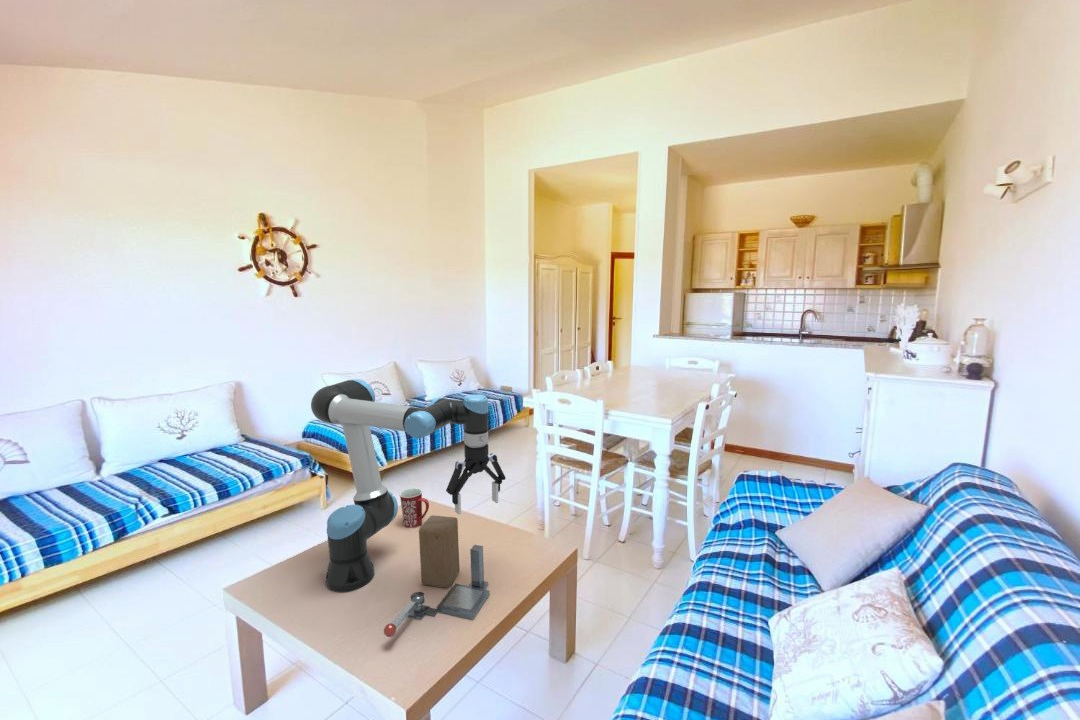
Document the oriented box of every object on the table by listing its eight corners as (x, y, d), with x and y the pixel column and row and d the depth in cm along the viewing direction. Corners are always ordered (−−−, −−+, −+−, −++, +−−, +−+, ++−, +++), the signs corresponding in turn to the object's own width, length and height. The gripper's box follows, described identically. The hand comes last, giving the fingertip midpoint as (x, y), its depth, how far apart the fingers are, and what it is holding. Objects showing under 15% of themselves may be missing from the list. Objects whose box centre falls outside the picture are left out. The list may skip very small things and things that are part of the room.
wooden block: (449, 589, 153) (446, 531, 150) (420, 585, 155) (417, 528, 152) (460, 571, 163) (458, 516, 160) (433, 567, 165) (430, 513, 162)
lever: (380, 637, 129) (379, 627, 128) (415, 598, 145) (415, 588, 144) (393, 641, 127) (392, 630, 127) (427, 600, 143) (426, 591, 143)
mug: (396, 526, 194) (394, 494, 192) (411, 516, 202) (409, 486, 200) (421, 532, 188) (419, 500, 186) (435, 522, 196) (434, 491, 194)
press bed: (406, 616, 141) (403, 573, 139) (442, 575, 161) (440, 536, 159) (465, 630, 135) (464, 585, 133) (495, 586, 155) (494, 546, 153)
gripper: (445, 455, 140) (446, 522, 144) (516, 439, 155) (515, 501, 158) (434, 448, 146) (436, 513, 149) (503, 433, 161) (503, 492, 164)
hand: (477, 507), depth 154 cm, fingers open, 13 cm apart
